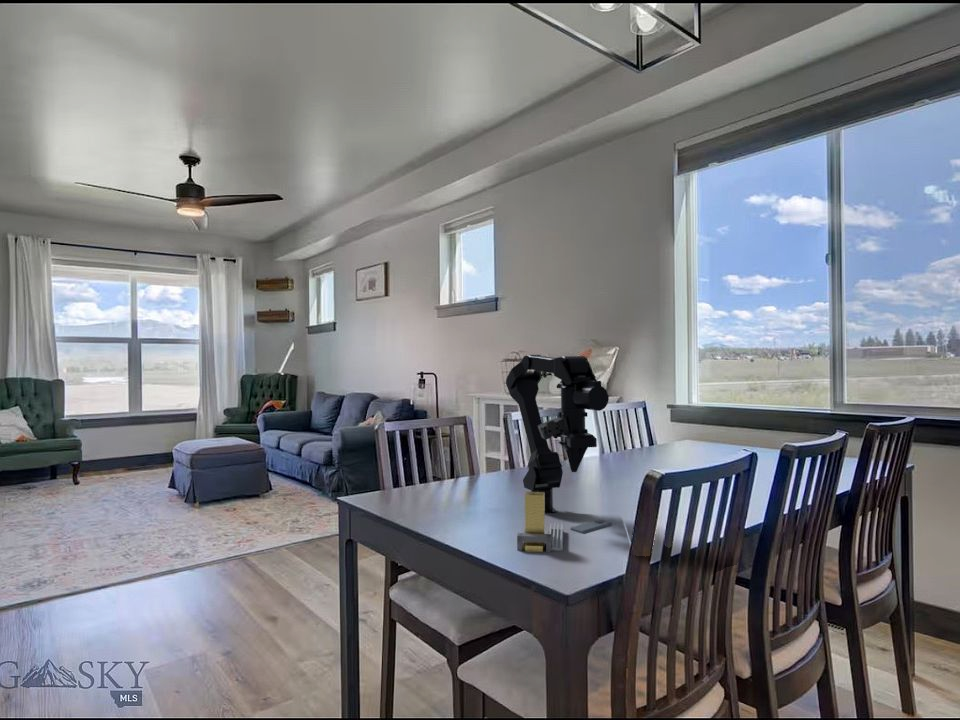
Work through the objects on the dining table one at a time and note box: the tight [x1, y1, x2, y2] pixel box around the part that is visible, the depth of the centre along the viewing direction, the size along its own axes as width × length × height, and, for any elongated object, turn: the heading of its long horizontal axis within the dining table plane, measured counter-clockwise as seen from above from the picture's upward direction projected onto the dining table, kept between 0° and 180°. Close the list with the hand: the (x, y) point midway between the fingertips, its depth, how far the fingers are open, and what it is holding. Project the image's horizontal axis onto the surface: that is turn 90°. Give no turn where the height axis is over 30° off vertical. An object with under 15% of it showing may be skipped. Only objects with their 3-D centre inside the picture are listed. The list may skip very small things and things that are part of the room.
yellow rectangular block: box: [524, 491, 546, 553], centre depth 124 cm, size 6×4×11 cm, turn 171°
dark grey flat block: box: [570, 518, 613, 534], centre depth 137 cm, size 4×10×2 cm, turn 128°
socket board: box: [516, 522, 564, 553], centre depth 128 cm, size 16×12×4 cm
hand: (573, 471), depth 142 cm, fingers closed
